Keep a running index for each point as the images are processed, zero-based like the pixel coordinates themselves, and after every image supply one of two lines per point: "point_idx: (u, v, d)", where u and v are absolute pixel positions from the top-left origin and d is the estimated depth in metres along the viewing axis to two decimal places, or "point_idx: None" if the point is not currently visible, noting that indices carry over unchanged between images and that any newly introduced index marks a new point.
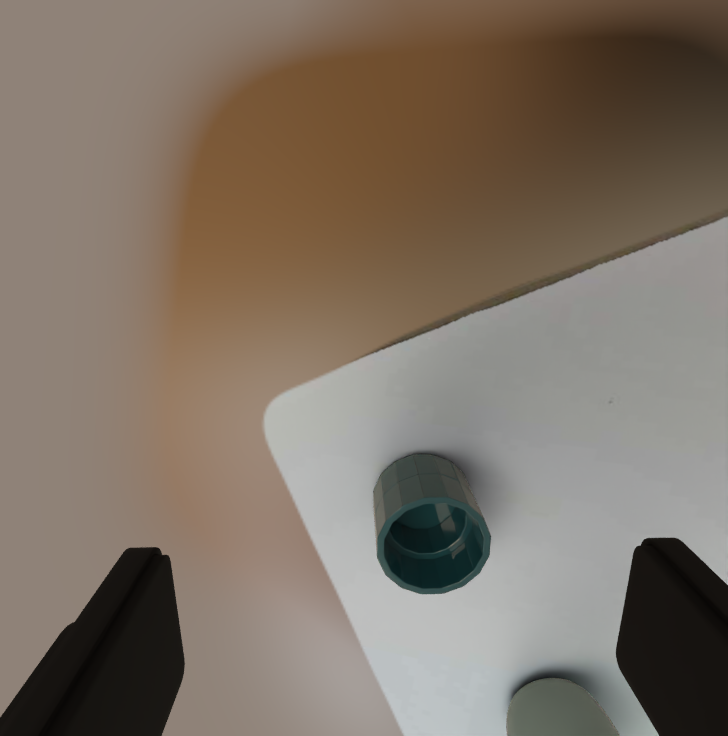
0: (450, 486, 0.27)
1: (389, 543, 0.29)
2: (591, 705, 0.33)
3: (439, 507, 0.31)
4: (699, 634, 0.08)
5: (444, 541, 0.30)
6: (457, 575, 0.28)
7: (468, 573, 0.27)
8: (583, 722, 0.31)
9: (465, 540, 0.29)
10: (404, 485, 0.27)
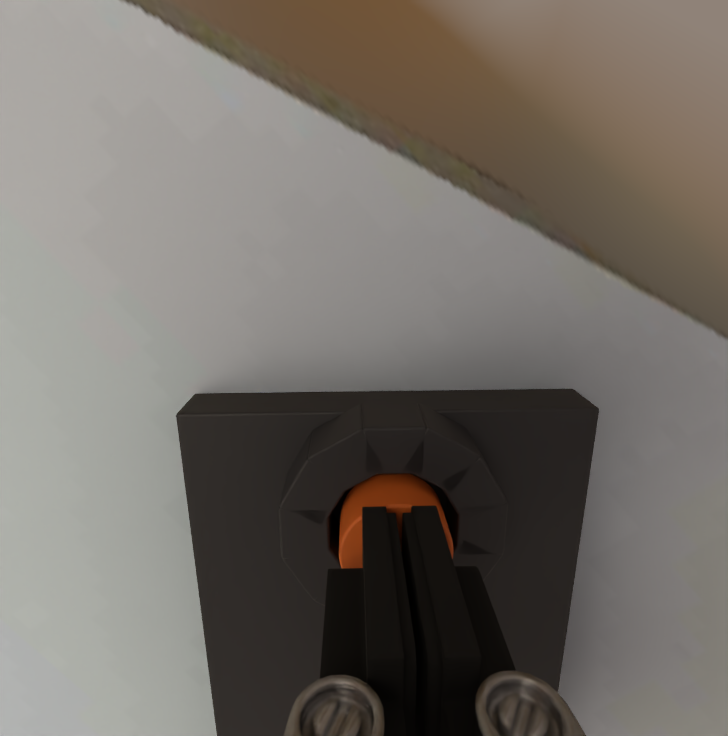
0: None
1: None
2: None
3: None
4: (412, 583, 0.09)
5: None
6: None
7: None
8: None
9: None
10: None
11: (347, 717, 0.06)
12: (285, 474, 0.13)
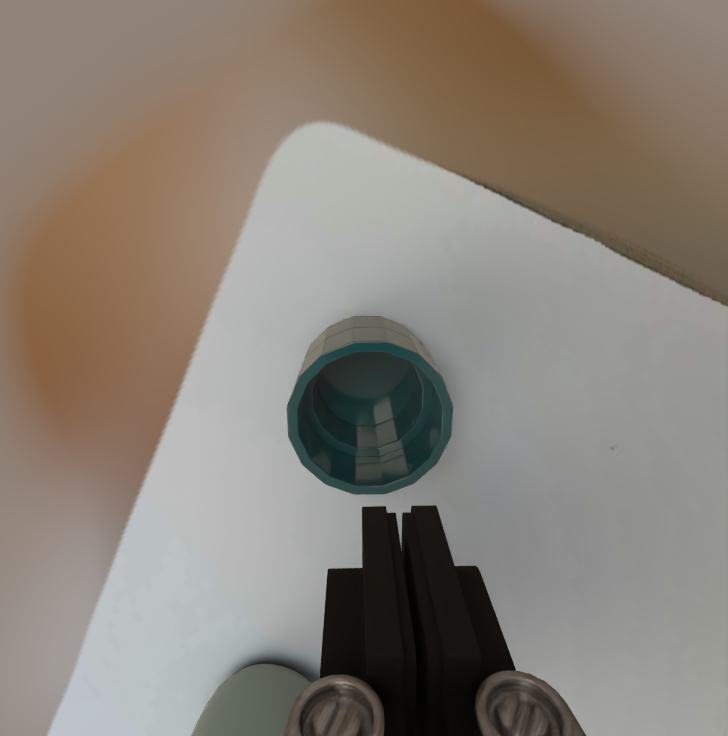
0: None
1: (304, 388, 0.20)
2: None
3: (373, 407, 0.23)
4: (412, 583, 0.09)
5: (355, 440, 0.22)
6: (353, 479, 0.20)
7: (373, 484, 0.19)
8: None
9: (383, 455, 0.21)
10: (391, 333, 0.19)
11: (348, 717, 0.06)
12: None
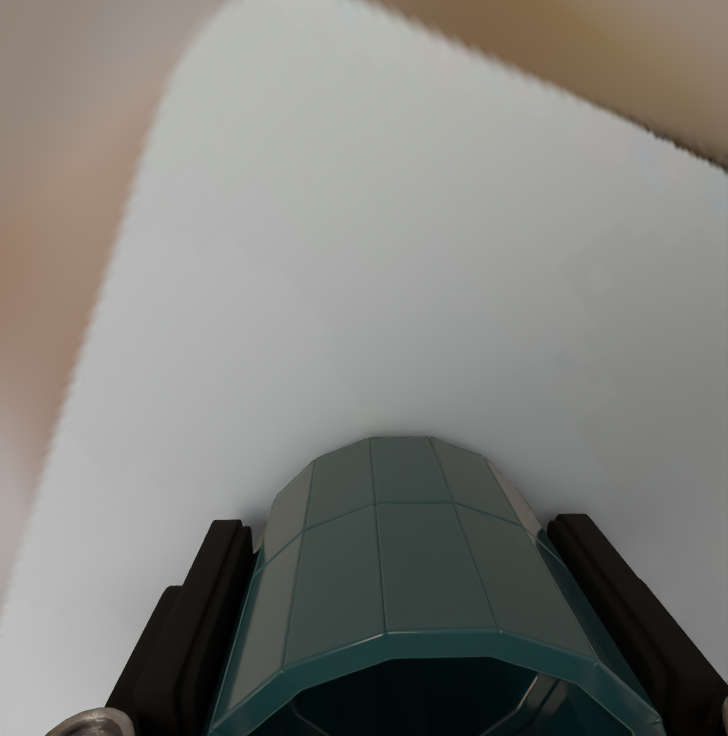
0: None
1: None
2: None
3: None
4: (588, 596, 0.08)
5: (377, 717, 0.10)
6: None
7: None
8: None
9: None
10: (481, 533, 0.07)
11: None
12: None
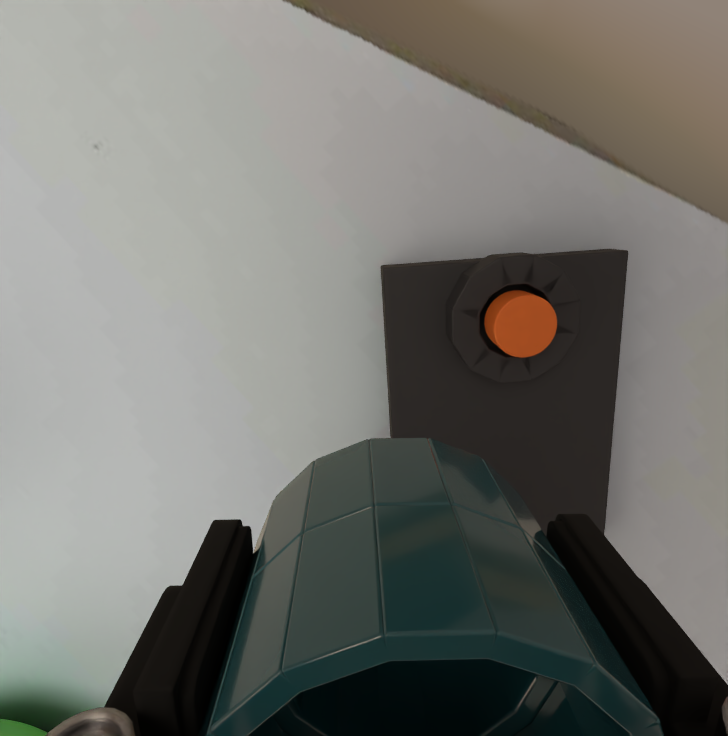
0: None
1: None
2: None
3: None
4: (588, 596, 0.08)
5: (376, 718, 0.10)
6: None
7: None
8: None
9: None
10: (479, 534, 0.07)
11: None
12: (444, 303, 0.22)
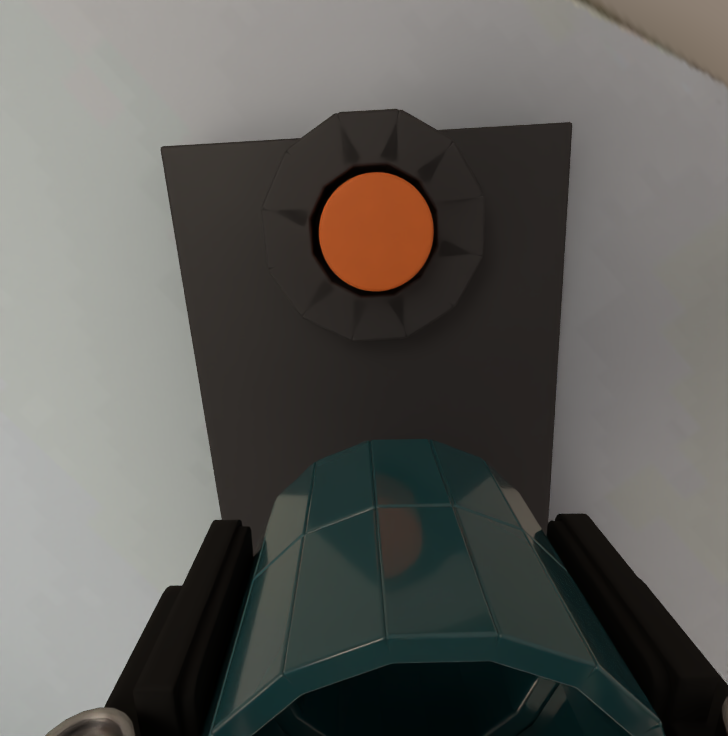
0: None
1: None
2: None
3: None
4: (588, 596, 0.08)
5: (377, 720, 0.10)
6: None
7: None
8: None
9: None
10: (481, 536, 0.07)
11: None
12: None
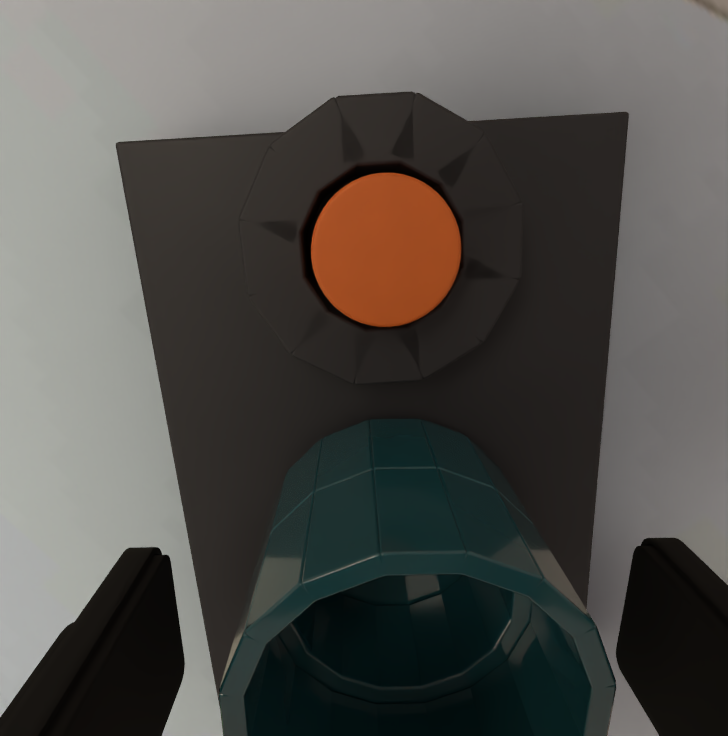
0: None
1: None
2: None
3: (404, 574, 0.13)
4: (699, 634, 0.08)
5: (375, 660, 0.11)
6: None
7: None
8: None
9: (432, 702, 0.11)
10: (459, 490, 0.09)
11: None
12: None
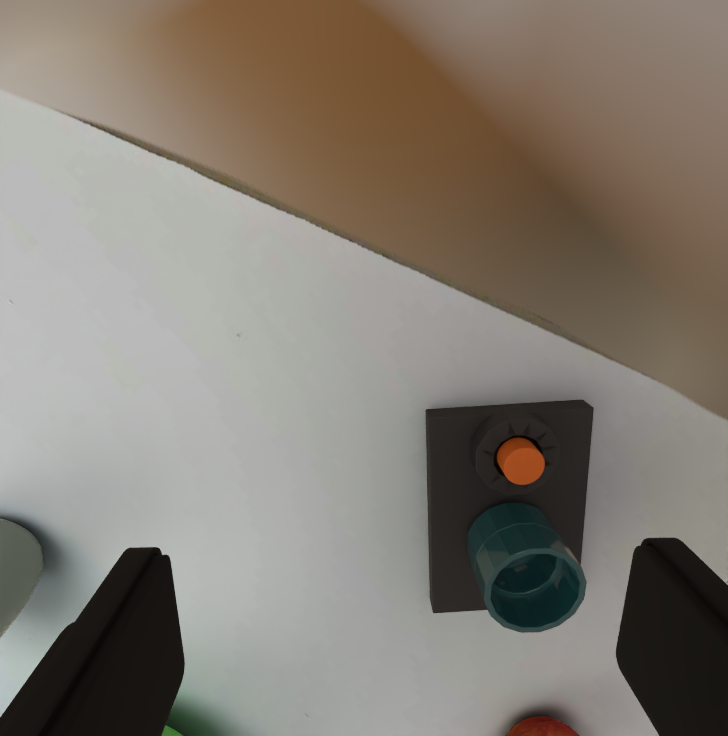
0: None
1: None
2: (25, 560, 0.33)
3: None
4: (699, 634, 0.08)
5: (507, 585, 0.33)
6: (517, 620, 0.31)
7: (533, 626, 0.30)
8: None
9: (528, 597, 0.33)
10: (543, 531, 0.30)
11: None
12: (469, 439, 0.33)
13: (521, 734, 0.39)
